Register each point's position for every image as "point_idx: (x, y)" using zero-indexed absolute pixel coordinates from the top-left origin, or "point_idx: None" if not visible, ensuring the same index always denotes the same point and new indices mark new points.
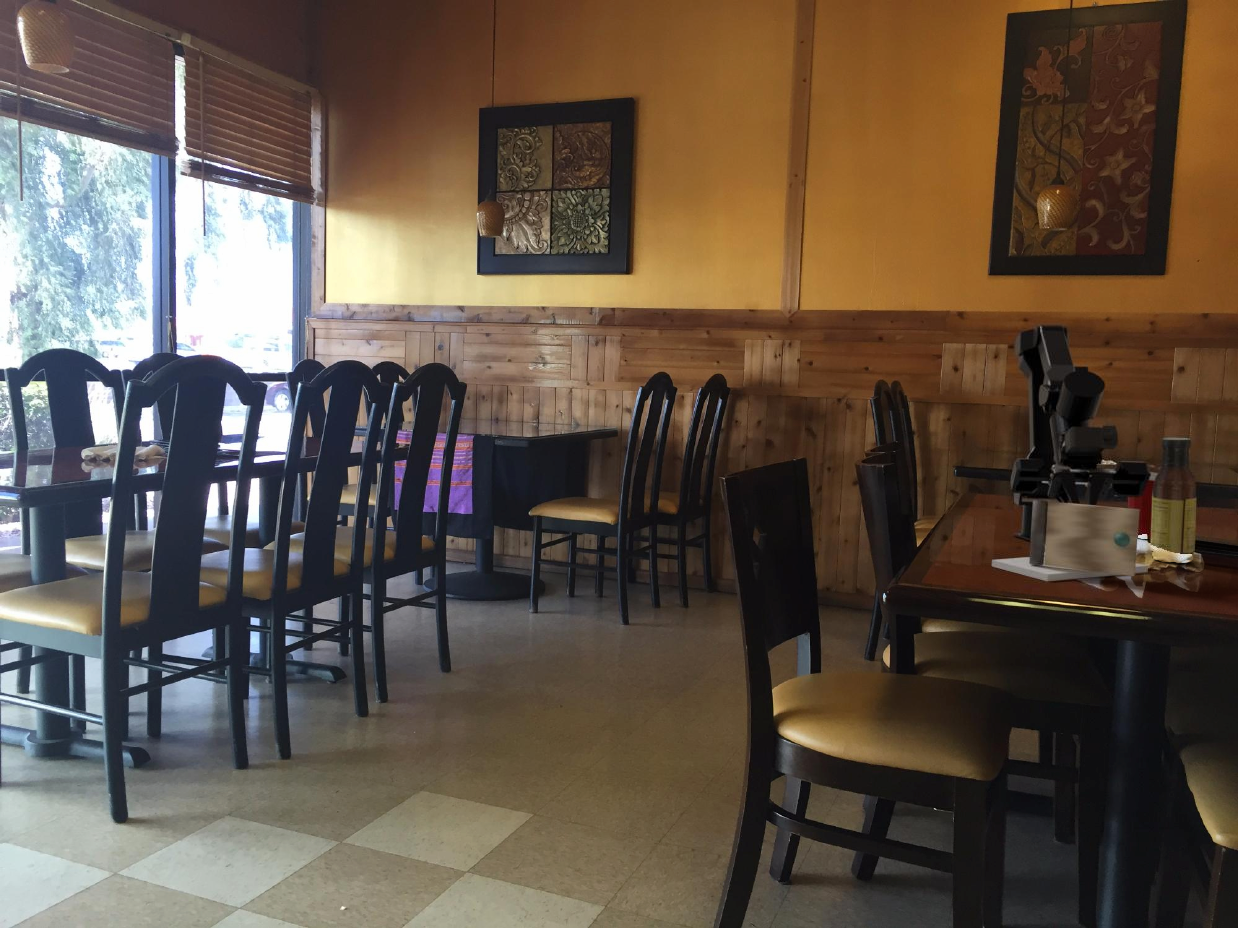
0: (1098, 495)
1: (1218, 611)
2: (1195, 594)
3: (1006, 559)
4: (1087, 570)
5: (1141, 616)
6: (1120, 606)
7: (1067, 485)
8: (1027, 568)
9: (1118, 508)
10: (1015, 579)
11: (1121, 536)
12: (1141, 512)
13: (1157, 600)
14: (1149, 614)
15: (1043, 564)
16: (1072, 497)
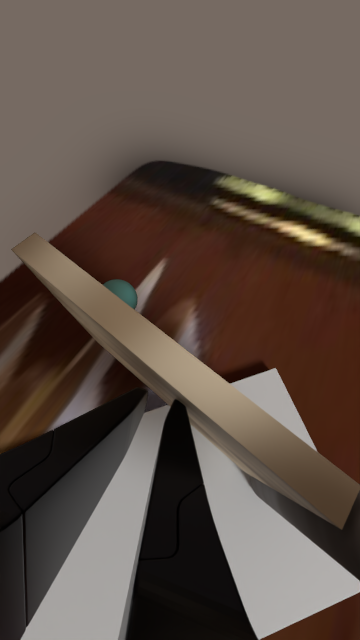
0: (13, 451)
1: (108, 202)
2: None
3: (332, 590)
4: (161, 411)
5: (223, 184)
6: (224, 220)
7: (224, 631)
8: (302, 437)
9: (81, 269)
10: (334, 391)
11: (125, 282)
12: None
13: (148, 246)
14: (208, 191)
15: (240, 496)
16: (194, 492)
